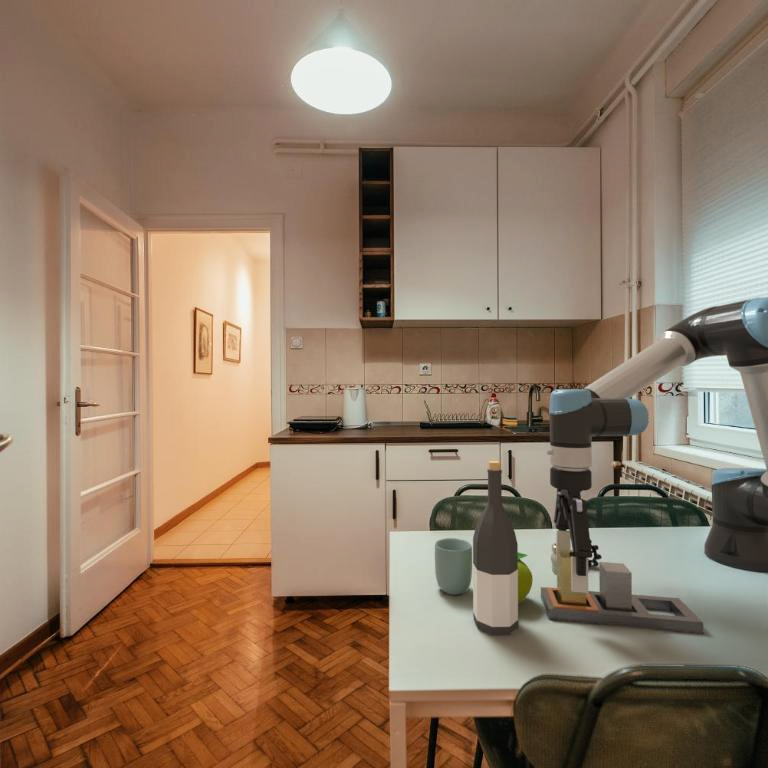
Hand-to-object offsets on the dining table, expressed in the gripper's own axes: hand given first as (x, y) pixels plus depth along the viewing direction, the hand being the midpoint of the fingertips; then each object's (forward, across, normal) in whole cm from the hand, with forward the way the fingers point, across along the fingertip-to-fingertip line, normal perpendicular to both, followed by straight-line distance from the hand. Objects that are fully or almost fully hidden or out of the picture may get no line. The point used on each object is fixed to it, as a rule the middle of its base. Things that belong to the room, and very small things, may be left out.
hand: (571, 575), depth 85 cm
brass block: (+7, 0, 0) cm, 7 cm away
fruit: (+7, -1, -12) cm, 14 cm away
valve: (+7, -20, +5) cm, 22 cm away
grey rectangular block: (+7, 0, +8) cm, 10 cm away
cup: (+7, -4, -23) cm, 24 cm away
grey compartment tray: (+7, 0, +8) cm, 10 cm away
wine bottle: (+7, +8, -15) cm, 18 cm away
